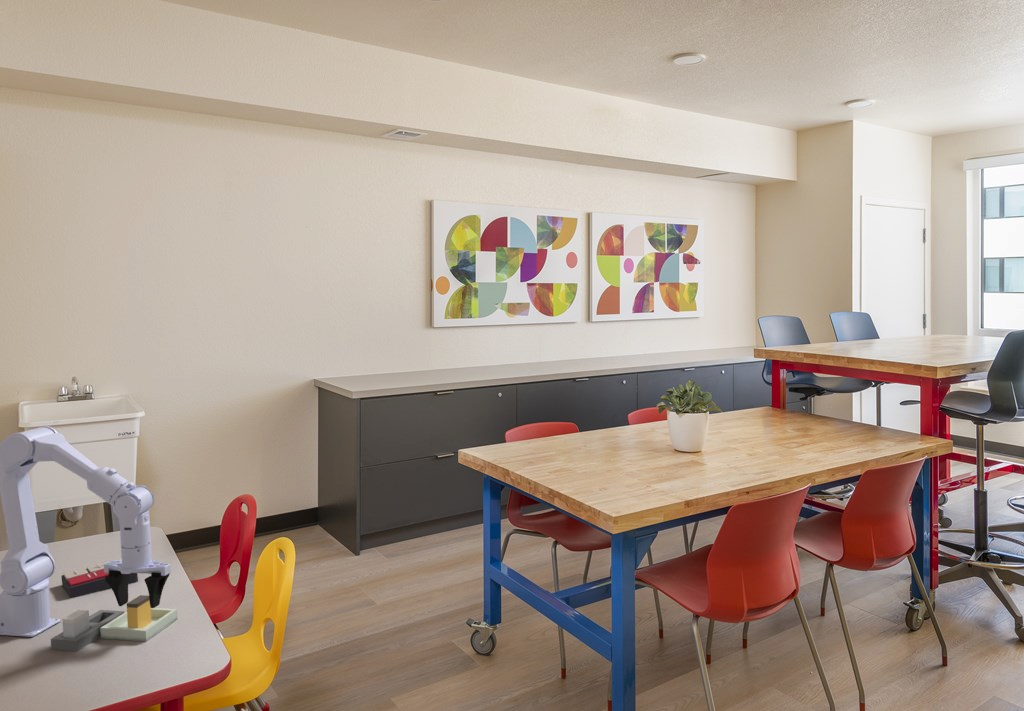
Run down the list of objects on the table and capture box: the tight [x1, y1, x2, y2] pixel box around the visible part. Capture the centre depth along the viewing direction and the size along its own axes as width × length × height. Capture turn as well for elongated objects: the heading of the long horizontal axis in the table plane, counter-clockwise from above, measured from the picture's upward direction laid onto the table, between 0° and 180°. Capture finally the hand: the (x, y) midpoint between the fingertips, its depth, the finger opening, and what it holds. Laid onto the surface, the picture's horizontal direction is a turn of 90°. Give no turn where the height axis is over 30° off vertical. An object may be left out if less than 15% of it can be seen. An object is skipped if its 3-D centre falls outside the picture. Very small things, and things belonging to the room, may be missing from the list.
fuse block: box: [50, 609, 125, 652], centre depth 151 cm, size 6×14×2 cm, turn 171°
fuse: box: [61, 609, 90, 638], centre depth 148 cm, size 2×4×6 cm, turn 171°
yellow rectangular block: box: [126, 594, 151, 629], centre depth 154 cm, size 2×4×6 cm, turn 172°
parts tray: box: [100, 607, 178, 642], centre depth 154 cm, size 11×11×2 cm
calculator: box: [61, 558, 139, 599], centre depth 180 cm, size 11×4×15 cm
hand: (139, 605), depth 154 cm, fingers open, 7 cm apart
